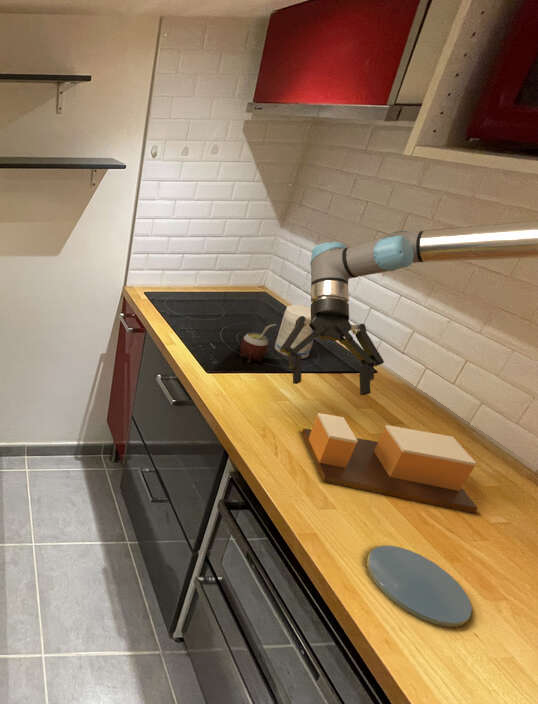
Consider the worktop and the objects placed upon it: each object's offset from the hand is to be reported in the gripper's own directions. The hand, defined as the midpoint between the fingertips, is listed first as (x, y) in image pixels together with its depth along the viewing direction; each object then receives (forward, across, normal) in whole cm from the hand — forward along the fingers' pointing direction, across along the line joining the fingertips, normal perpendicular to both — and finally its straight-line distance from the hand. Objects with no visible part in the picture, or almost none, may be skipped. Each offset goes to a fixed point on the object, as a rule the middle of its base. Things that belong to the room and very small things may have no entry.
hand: (330, 388), depth 102 cm
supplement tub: (-21, -5, -40) cm, 45 cm away
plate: (+36, -5, +17) cm, 40 cm away
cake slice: (+14, 0, -3) cm, 14 cm away
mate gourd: (-14, +8, -33) cm, 37 cm away
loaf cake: (+14, -17, -3) cm, 22 cm away
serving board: (+15, -11, -4) cm, 19 cm away
